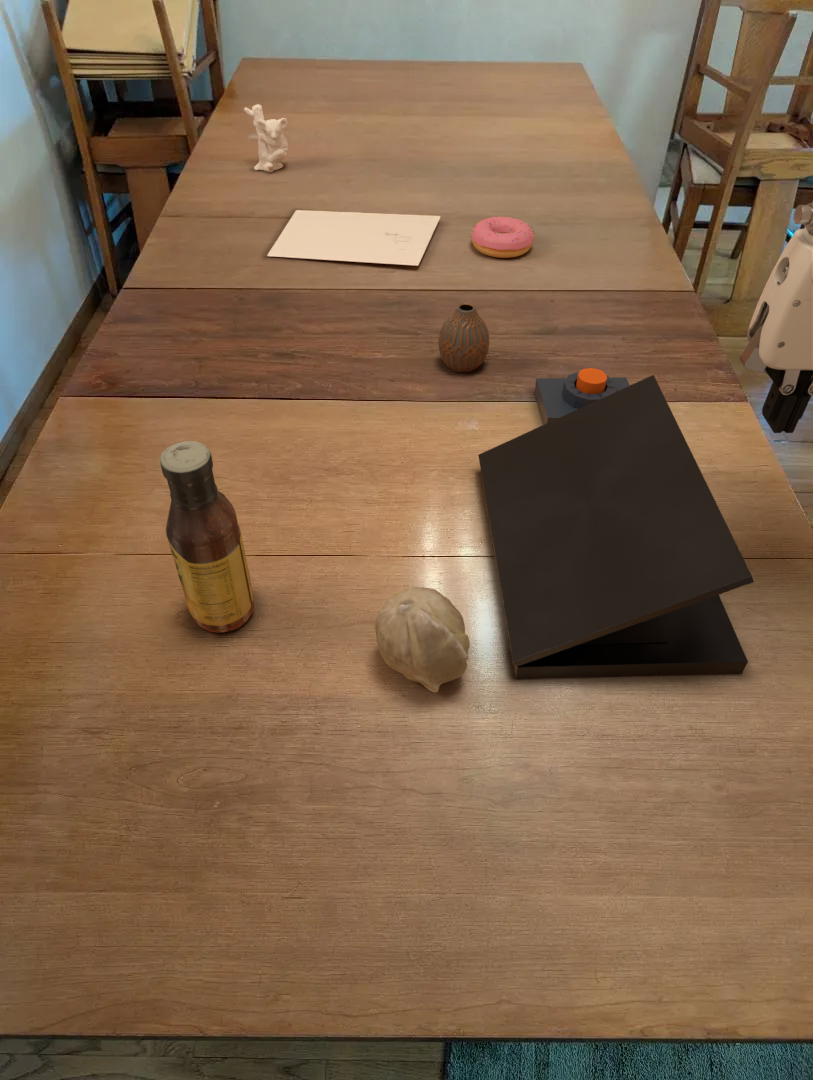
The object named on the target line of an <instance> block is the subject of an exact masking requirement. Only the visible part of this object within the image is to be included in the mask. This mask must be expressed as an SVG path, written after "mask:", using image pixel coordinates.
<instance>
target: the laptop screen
mask: <svg viewBox="0 0 813 1080" xmlns="http://www.w3.org/2000/svg"><path fill="white" fill-rule="evenodd" d="M629 385H630V386H628V387H626V388H623V389H621V390H619V391H617V392H615V393H612V394H610V395H608V396H606V397H604V398H602V399H599V400H597V401H595V402H593V403H591V404H588V405H586V406H584V407H582V408H580V409H577V410H575V411H573V412H571V413H569V414H566V415H564V416H562V417H560V418H558V419H556V420H553V421H551V422H549V423H547V424H545V425H543V424H542V425H540V426H538V427H536V428H533V429H531V430H529V431H527V432H525V433H522V434H521V435H519V436H516V437H514V438H512V439H510V440H507V441H505V442H503V443H501V444H499V445H497V446H494V447H492V448H490V449H487V450H485V451H483V452H481V453H478V454H477V455H478V461H479V468H480V470H481V473H480V475H481V474H482V479H481V481H482V480H483V485H482V487H483V486H484V491H483V493H484V492H485V497H486V502H485V504H486V503H487V508H486V510H487V509H488V514H487V516H488V515H489V520H488V522H489V521H490V526H489V528H490V527H491V532H490V534H491V533H492V538H491V540H492V539H493V544H494V550H495V556H496V562H497V568H498V573H497V575H498V574H499V579H498V581H499V580H500V585H499V587H500V586H501V591H502V597H503V603H504V609H505V615H506V621H507V627H508V633H509V638H510V644H511V650H512V656H513V662H514V663H515V665H516V666H520V665H523V664H526V663H529V662H531V661H534V660H537V659H540V658H543V657H545V656H548V655H551V654H554V653H557V652H559V651H562V650H565V649H568V648H571V647H573V646H576V645H579V644H582V643H585V642H587V641H590V640H593V639H596V638H599V637H601V636H604V635H607V634H610V633H613V632H615V631H618V630H621V629H624V628H627V627H629V626H632V625H635V624H638V623H641V622H644V621H646V620H649V619H652V618H655V617H658V616H660V615H663V614H666V613H669V612H672V611H674V610H677V609H680V608H683V607H686V606H688V605H691V604H694V603H697V602H700V601H702V600H705V599H708V598H711V597H714V596H716V595H719V596H720V595H722V594H724V593H727V592H731V591H733V590H735V589H738V588H742V587H745V586H747V585H750V584H752V583H754V582H755V581H754V577H753V575H752V573H751V571H750V569H749V567H748V565H747V563H746V561H745V559H744V557H743V554H742V553H741V550H740V548H739V546H738V545H737V542H736V541H735V538H734V536H733V534H732V532H731V531H730V527H729V526H728V524H727V522H726V520H725V517H724V515H723V514H722V512H721V510H720V508H719V505H718V503H717V501H716V499H715V498H714V496H713V493H712V492H711V489H710V488H709V485H708V483H707V481H706V479H705V477H704V475H703V473H702V471H701V469H700V467H699V464H698V463H697V460H696V458H695V456H694V454H693V452H692V450H691V449H690V446H689V444H688V442H687V440H686V439H685V436H684V434H683V432H682V430H681V428H680V426H679V424H678V422H677V420H676V417H675V416H674V414H673V412H672V410H671V407H670V406H669V404H668V401H667V399H666V397H665V395H664V393H663V391H662V389H661V387H660V384H659V383H658V381H657V379H656V377H655V374H652V375H650V376H648V377H645V378H643V379H640V380H639V381H636V382H634V383H632V384H629ZM485 497H484V498H485ZM493 544H492V545H493ZM494 550H493V551H494ZM495 556H494V557H495ZM496 562H495V563H496ZM497 568H496V569H497ZM501 591H500V592H501ZM502 597H501V598H502ZM503 603H502V604H503ZM504 609H503V610H504ZM505 615H504V616H505ZM506 621H505V622H506ZM507 627H506V628H507ZM508 633H507V634H508ZM510 644H509V645H510ZM511 650H510V651H511ZM512 656H511V657H512ZM513 662H512V663H513Z"/></svg>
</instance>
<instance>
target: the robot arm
mask: <svg viewBox="0 0 813 1080" xmlns="http://www.w3.org/2000/svg"><path fill="white" fill-rule="evenodd" d="M792 219H793V223H794V224H796V225H803V226H804V228H799V229H796V230H795V232H794V234H793V235H792V236H791V238H790V239H789V241H788V243H787V245H786V246H785V247H784V249H783V251H782V252H781V254H780V256H779V258H778V260H777V262H776V263H775V266H774V267H773V269H772V271H771V273H770V275H769V277H768V279H767V282H766V283H765V286H764V288H763V290H762V292H761V295H760V296H759V299H758V301H757V304H756V306H755V309H754V312H753V314H752V317H751V320H750V323H749V326H748V329H747V334H746V335H747V336H746V338H747V340H748V343H747V345H746V347H745V348H744V349H743V351H742V353H741V354H740V356H739V361H740V363H741V364H742V366H743V367H744V368H745V370H747V371H751V372H756V373H759V374H767V375H768V377H769V378H770V380H771V381H772V383H771V384H770V385H771V386H770V388H769V390H768V393H767V395H766V398H765V400H764V402H763V405H762V407H761V414H762V416H763V417H764V418H763V419H765V422H766V423H767V424H768V426H769V429H771V431H772V432H773V434H781V433H782V432H784V433H785V434H793V433H794V432H795V430H796V427H797V425H798V423H799V421H800V420H801V419H802V418H803V416H804V413H805V411H806V409H807V407H808V405H809V403H810V400H811V397H812V396H813V200H812V202H809V203H807V204H799V205H797V206H796V207H795V210H794V212H793V218H792Z"/></svg>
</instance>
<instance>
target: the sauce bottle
mask: <svg viewBox="0 0 813 1080" xmlns="http://www.w3.org/2000/svg"><path fill="white" fill-rule="evenodd" d="M213 461H214V460H213V456H212V453H211V449H210V448H209V447H208V446H207V445H206V444H204V443H202V442H200V441H195V440H186V441H185V440H183V441H180V442H176V443H174V444H172V445H171V446H169V447H167V448H165V450H164V451H162V453H161V455H160V458H159V463H160V468H161V473H162V475H163V477H164V478H165V480H166V482H167V485H168V490H169V492H170V493H169V496H170V497H169V498H170V505H169V510H168V514H167V520H166V525H165V534H166V535H165V536H166V539H167V542H168V545H169V548H170V552H171V554H172V558H173V561H174V565H175V568H176V572H177V576H178V579H179V581H180V585H181V588H182V592H183V595H184V599H185V601H186V606H187V608H188V611H189V613H190V615H191V616H192V620H193V621H194V622H195V624H197V625H198V626H199V627H200V628H202V629H204V630H206V631H208V632H211V633H226V632H231V631H234V630H238V629H239V628H241V627H242V626H243V625H245V624H246V622H247V621H248V620H249V619H250V617H251V616H252V614H253V613H254V608H255V607H254V606H255V604H254V591H253V585H252V580H251V574H250V570H249V565H248V560H247V556H246V551H245V546H244V540H243V536H242V531H241V527H240V525H239V523H238V522H239V521H238V518H237V513H236V509H235V507H234V506H233V504H232V503H231V501H230V500H229V499H228V497H226V495H225V494H224V493H223V492H221V491H219V490H218V486H217V484H216V481H215V477H214V471H213V467H214V462H213Z"/></svg>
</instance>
